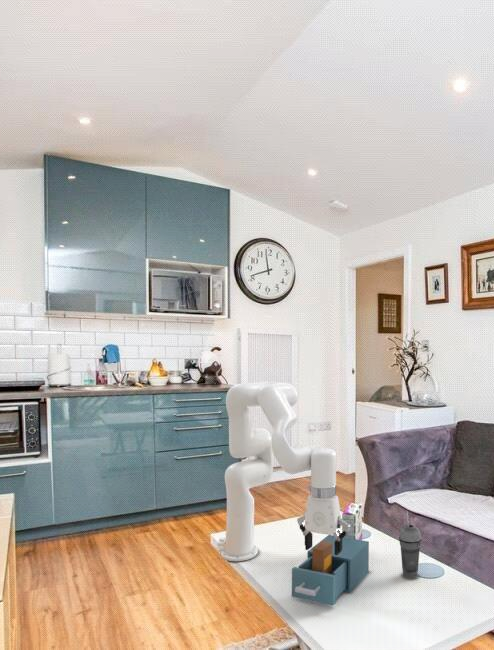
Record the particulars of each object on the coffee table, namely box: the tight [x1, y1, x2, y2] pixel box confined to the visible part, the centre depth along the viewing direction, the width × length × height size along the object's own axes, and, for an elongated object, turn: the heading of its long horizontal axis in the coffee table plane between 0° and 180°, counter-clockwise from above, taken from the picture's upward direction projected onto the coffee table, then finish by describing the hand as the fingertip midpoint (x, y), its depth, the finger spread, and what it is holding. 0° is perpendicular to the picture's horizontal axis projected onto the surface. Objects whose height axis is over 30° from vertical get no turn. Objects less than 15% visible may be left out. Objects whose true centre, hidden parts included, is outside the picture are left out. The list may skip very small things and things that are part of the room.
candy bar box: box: [341, 502, 363, 540], centre depth 171 cm, size 11×5×16 cm, turn 168°
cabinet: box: [307, 534, 370, 594], centre depth 155 cm, size 15×15×10 cm
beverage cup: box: [398, 510, 422, 580], centre depth 157 cm, size 7×7×20 cm
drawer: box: [291, 555, 348, 607], centre depth 143 cm, size 18×13×8 cm
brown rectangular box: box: [312, 540, 332, 574], centre depth 145 cm, size 4×6×12 cm, turn 158°
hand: (323, 550), depth 145 cm, fingers open, 9 cm apart
